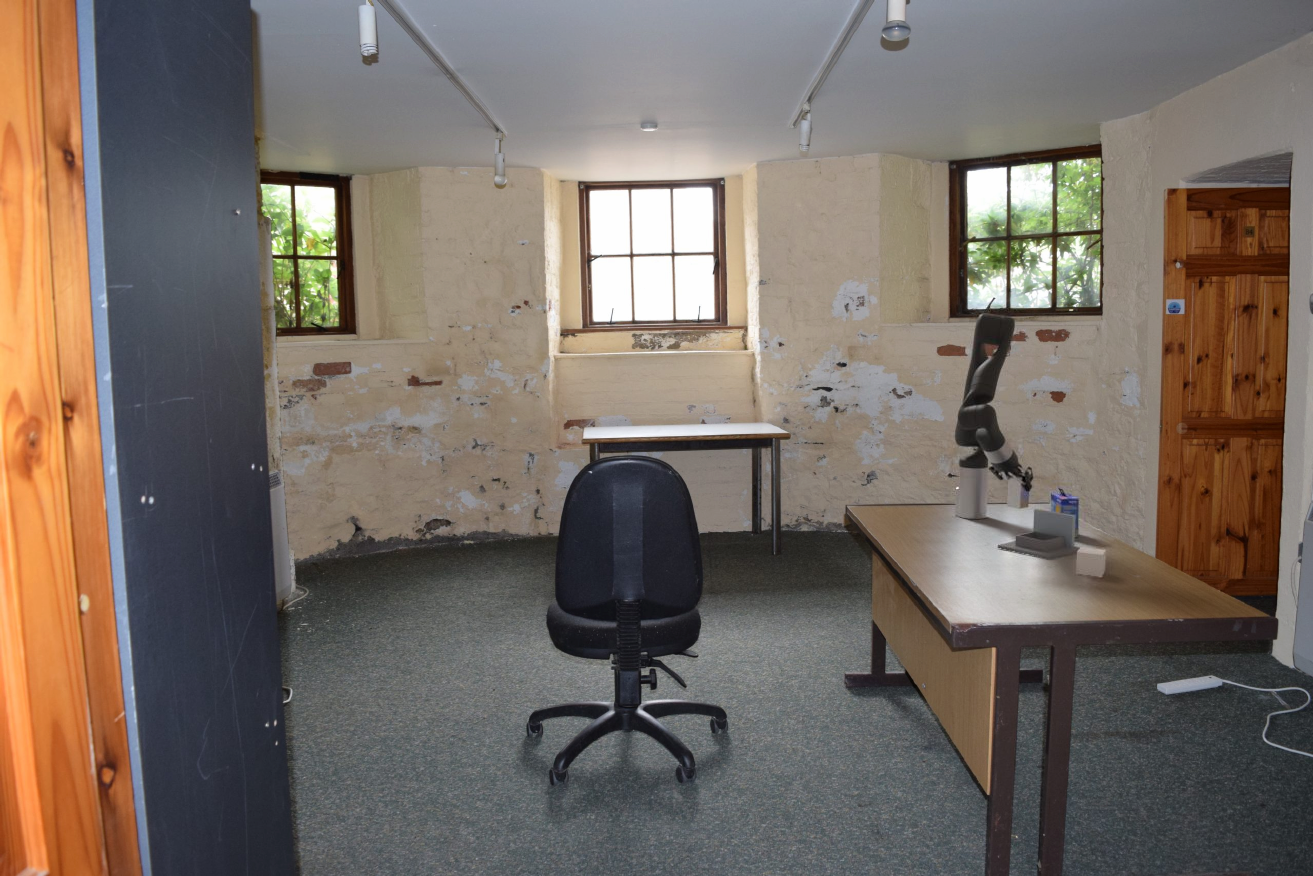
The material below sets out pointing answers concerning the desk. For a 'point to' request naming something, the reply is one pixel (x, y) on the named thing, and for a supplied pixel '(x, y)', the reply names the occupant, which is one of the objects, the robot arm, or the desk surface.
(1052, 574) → the desk surface
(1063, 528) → the dock
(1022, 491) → the tall gray block
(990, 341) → the robot arm
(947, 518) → the desk surface
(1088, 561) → the white cube
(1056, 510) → the ink cartridge box
